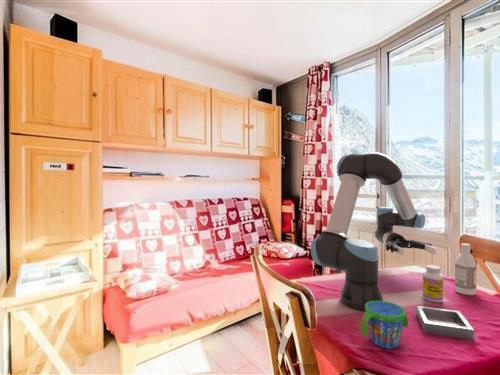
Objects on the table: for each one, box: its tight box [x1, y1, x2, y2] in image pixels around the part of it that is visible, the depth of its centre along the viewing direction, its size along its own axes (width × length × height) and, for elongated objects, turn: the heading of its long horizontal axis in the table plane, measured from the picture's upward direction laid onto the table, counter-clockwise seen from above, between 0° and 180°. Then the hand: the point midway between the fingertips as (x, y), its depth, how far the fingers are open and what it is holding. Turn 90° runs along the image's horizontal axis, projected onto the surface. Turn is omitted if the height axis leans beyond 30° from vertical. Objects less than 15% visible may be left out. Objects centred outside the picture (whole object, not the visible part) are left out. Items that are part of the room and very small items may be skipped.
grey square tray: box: [416, 305, 475, 341], centre depth 89 cm, size 12×12×3 cm
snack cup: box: [359, 300, 409, 350], centre depth 81 cm, size 16×10×10 cm
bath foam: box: [454, 242, 477, 296], centre depth 115 cm, size 7×7×20 cm
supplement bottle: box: [422, 264, 444, 303], centre depth 109 cm, size 7×7×13 cm
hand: (419, 251), depth 119 cm, fingers open, 13 cm apart
